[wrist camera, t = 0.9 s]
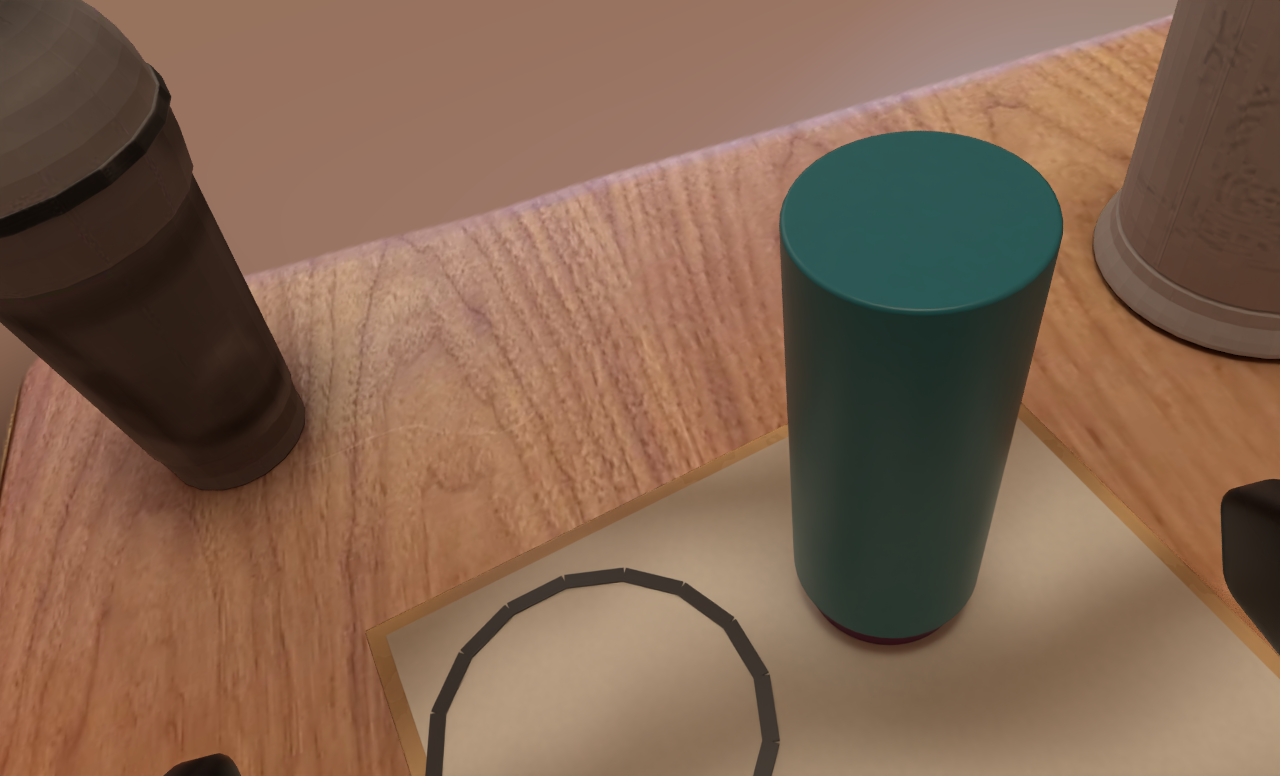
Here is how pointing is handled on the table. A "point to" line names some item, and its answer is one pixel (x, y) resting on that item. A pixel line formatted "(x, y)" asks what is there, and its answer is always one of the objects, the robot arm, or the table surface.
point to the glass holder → (1205, 185)
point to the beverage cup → (128, 254)
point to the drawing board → (832, 648)
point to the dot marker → (907, 367)
